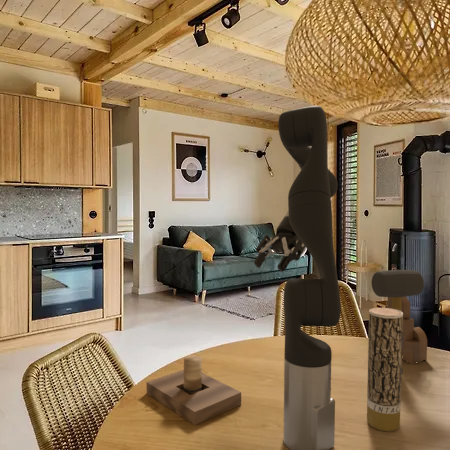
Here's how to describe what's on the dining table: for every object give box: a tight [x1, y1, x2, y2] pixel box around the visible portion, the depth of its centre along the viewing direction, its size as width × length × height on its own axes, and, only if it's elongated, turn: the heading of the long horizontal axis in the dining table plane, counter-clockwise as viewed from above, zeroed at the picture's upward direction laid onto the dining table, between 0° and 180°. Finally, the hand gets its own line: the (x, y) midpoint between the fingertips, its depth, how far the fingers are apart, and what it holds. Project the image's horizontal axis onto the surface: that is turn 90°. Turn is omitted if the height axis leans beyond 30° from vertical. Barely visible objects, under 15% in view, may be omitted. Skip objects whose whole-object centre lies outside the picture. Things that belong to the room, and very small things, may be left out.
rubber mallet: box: [371, 269, 425, 376], centre depth 114 cm, size 12×8×30 cm, turn 102°
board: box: [146, 369, 242, 426], centre depth 102 cm, size 20×14×3 cm
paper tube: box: [366, 307, 403, 432], centre depth 90 cm, size 7×7×25 cm
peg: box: [183, 354, 203, 395], centre depth 102 cm, size 5×5×10 cm
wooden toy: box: [386, 296, 428, 364], centre depth 132 cm, size 16×7×25 cm, turn 25°
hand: (267, 267), depth 112 cm, fingers open, 8 cm apart
